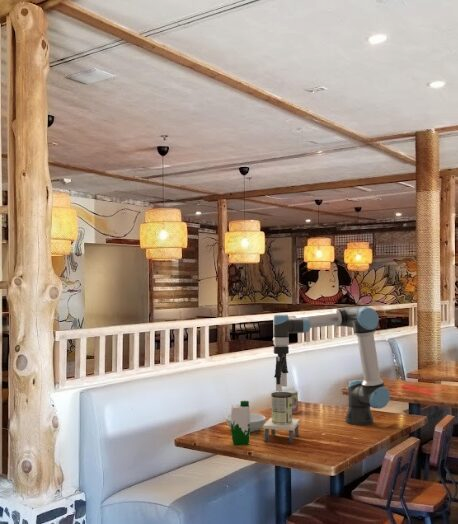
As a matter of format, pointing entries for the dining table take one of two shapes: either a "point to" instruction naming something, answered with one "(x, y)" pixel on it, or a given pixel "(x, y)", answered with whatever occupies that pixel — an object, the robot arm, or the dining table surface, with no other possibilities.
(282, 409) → the coffee can
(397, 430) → the dining table surface
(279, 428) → the peg stand
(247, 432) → the milk carton
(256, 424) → the serving bowl
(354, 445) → the dining table surface
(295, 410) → the canned food
